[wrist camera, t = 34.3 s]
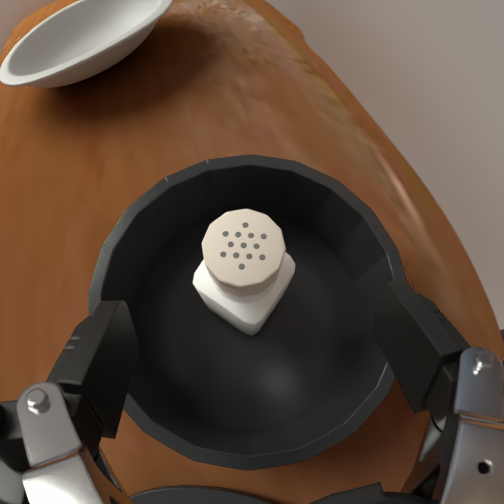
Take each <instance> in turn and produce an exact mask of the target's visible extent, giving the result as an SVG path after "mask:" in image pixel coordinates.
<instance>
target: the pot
mask: <svg viewBox="0 0 504 504" xmlns="http://www.w3.org/2000/svg"><path fill="white" fill-rule="evenodd" d="M241 209H250V210H253V211H256V212H260V213H263V214H266V215H268V216H269V217H270V219H271V220H272V221H273V222H274V223H275V224H276V225H277V226H278V227H279V228H280V229H281V230H282V234H283V238H284V242H285V246H286V251H285V252H286V253H287V254H288V255H290V256H291V258H292V259H293V261H294V263H295V272H294V274H293V277H292V279H291V281H290V283H289V285H288V287H287V289H286V291H285V292H284V294H283V296H282V298H281V299H280V301H279V302H278V304H277V305H276V307H275V308H274V310H273V311H272V313H271V314H270V316H269V317H268V319H267V320H266V322H265V323H264V325H263V326H262V328H261V329H260V330H259V332H257V333H256V334H254V335H253V336H252V335H247V334H245V333H243V332H242V331H240V330H239V329H237V328H236V327H234V326H233V325H231V324H230V323H228V322H227V321H225V320H224V319H223V318H221V317H220V316H218V315H217V314H215V313H214V312H212V311H211V310H210V309H209V308H208V306H207V305H206V303H205V302H204V300H203V299H202V297H201V296H200V294H199V293H198V291H197V290H196V288H195V286H194V285H193V278H194V273H195V271H196V270H197V268H198V267H199V265H200V264H201V262H202V261H203V260H204V256H203V249H202V241H203V239H204V237H205V234H206V232H207V230H208V227H209V225H210V224H211V223H212V222H214V221H215V220H216V219H218V218H219V217H220V216H222V215H223V214H224V213H226V212H229V211H235V210H241ZM402 280H404V281H406V277H405V274H404V270H403V266H402V263H401V259H400V256H399V252H398V250H397V248H396V246H395V244H394V243H393V241H392V239H391V238H390V236H389V235H388V233H387V231H386V230H385V228H384V227H383V225H382V224H381V222H380V221H379V219H378V217H377V216H376V214H375V213H374V211H372V209H371V208H370V207H368V206H367V205H366V204H365V203H364V202H363V201H362V200H360V199H359V198H358V197H357V196H356V195H355V194H354V193H352V192H351V191H350V190H349V189H348V188H346V187H345V186H344V185H343V184H342V183H341V182H339V181H337V180H336V179H334V178H332V177H330V176H328V175H326V174H324V173H321V172H319V171H317V170H315V169H313V168H310V167H308V166H306V165H304V164H302V163H299V162H296V161H292V160H286V159H280V158H273V157H267V156H260V155H251V154H250V155H241V156H232V157H224V158H216V159H209V160H207V161H206V160H205V161H202V162H200V163H198V164H195V165H193V166H190V167H188V168H185V169H183V170H181V171H178V172H176V173H174V174H171V175H169V176H167V177H165V178H163V179H162V180H161V181H160V182H158V183H157V184H156V185H155V186H153V187H152V188H151V189H150V190H148V191H147V192H146V193H145V194H143V195H142V196H141V197H140V198H139V199H137V200H136V201H135V202H134V203H133V204H131V205H130V207H128V208H127V210H126V211H125V212H124V214H123V215H122V217H121V218H120V220H119V221H118V223H117V224H116V226H115V227H114V229H113V230H112V232H111V233H110V235H109V236H108V238H107V239H106V241H105V242H104V244H103V246H102V249H101V252H100V255H99V258H98V261H97V265H96V268H95V272H94V275H93V279H92V282H91V286H90V289H89V317H92V315H93V313H94V311H95V310H96V308H97V306H98V305H99V303H100V302H101V301H120V300H123V301H125V302H126V304H127V307H128V310H129V313H130V317H131V320H132V323H133V326H134V330H135V333H136V336H137V339H138V345H139V355H138V359H137V363H136V366H135V369H134V372H133V376H132V379H131V382H130V386H129V389H128V393H127V396H126V400H125V403H124V407H123V409H124V410H125V411H126V412H127V414H128V415H129V416H130V417H131V418H132V419H133V421H134V422H135V423H136V424H137V425H138V426H139V427H140V428H141V430H142V431H143V432H145V433H146V434H148V435H149V436H151V437H152V438H154V439H156V440H157V441H159V442H161V443H162V444H164V445H166V446H167V447H169V448H171V449H173V450H174V451H176V452H178V453H180V454H182V455H183V456H185V457H187V458H189V459H191V460H193V461H197V462H202V463H207V464H212V465H217V466H222V467H228V468H234V469H240V470H257V469H264V468H270V467H277V466H282V465H288V464H293V463H298V462H303V461H305V460H307V459H309V458H311V457H313V456H315V455H317V454H319V453H321V452H323V451H324V450H326V449H328V448H330V447H332V446H333V445H335V444H337V443H339V442H340V441H342V440H344V439H345V438H347V437H349V436H350V435H352V433H354V432H355V431H356V430H357V429H358V428H359V427H360V426H361V425H362V424H363V422H364V421H365V420H366V419H367V418H368V417H369V416H370V415H371V413H372V412H373V411H374V410H375V409H376V408H377V407H378V405H379V404H380V403H381V402H382V401H383V399H384V398H385V397H386V396H387V393H389V391H390V389H391V386H392V384H393V382H394V379H395V375H394V373H393V371H392V369H391V367H390V366H389V364H388V362H387V360H386V358H385V356H384V354H383V353H382V351H381V349H380V347H379V345H378V344H377V342H376V340H375V337H374V333H373V321H374V316H375V311H376V306H377V301H378V296H379V290H380V287H381V285H382V283H385V282H393V281H402ZM406 282H407V281H406Z"/></svg>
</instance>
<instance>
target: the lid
mask: <svg viewBox="0 0 504 504" xmlns="http://www.w3.org/2000/svg"><path fill="white" fill-rule="evenodd" d="M129 498H130V499H131V501H132V502H133V503H134V504H276V503H274V502H272V501H269V500H267V499H264V498H261V497H258V496H255V495H252V494H248V493H244V492H240V491H236V490H231V489H225V488H220V487H210V486H195V485H180V486H166V487H160V488H153V489H149V490H146V491H142V492H139V493H136V494H134V495H131V496H129Z"/></svg>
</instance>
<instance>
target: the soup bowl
mask: <svg viewBox="0 0 504 504" xmlns="http://www.w3.org/2000/svg"><path fill="white" fill-rule="evenodd" d="M172 4H173V0H79V1H77V2H75V3H73V4H71V5H69V6H67V7H65V8H63V9H61V10H60V11H58V12H56V13H55V14H53V15H51V16H50V17H48V18H47V19H45V20H44V21H43V22H41V23H40V24H38V25H37V26H36V27H35V28H33V29H32V30H31V31H30V32H28V33H27V34H26V35H25V36H24V37H23V38H22V39H21V40H20V41H19V42H18V43H17V44H16V45H15V46H14V48H13V49H12V50H11V51H10V53H9V54H8V55H7V57H6V58H5V60H4V62H3V64H2V66H1V69H0V80H1V82H2V83H3V84H4V85H7V86H10V87H19V86H25V85H27V86H31V87H37V88H53V87H60V86H65V85H69V84H73V83H76V82H79V81H82V80H85V79H87V78H90V77H92V76H94V75H96V74H98V73H100V72H102V71H104V70H106V69H108V68H110V67H111V66H113V65H115V64H116V63H118V62H119V61H121V60H122V59H123V58H125V57H126V56H128V55H129V54H130V53H131V52H133V51H134V50H135V49H136V48H137V47H138V46H139V45H140V44H141V43H142V42H143V41H144V40H145V39H146V37H147V36H148V35H149V34H150V32H151V31H152V30H153V28H154V27H155V25H156V23H157V21H158V20H159V19H160V18H161V17H162V16H163V15H164V14H165V13H166V12H167V11H168V10H169V9H170V7H171V6H172Z"/></svg>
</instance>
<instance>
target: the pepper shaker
mask: <svg viewBox="0 0 504 504" xmlns="http://www.w3.org/2000/svg"><path fill="white" fill-rule="evenodd" d="M202 249H203V256H204V260H203V261H202V262H201V264H200V265H199V267H198V268H197V270H196V271H195V273H194V278H193V285H194V286H195V288H196V290H197V291H198V293H199V294H200V296H201V297H202V299H203V300H204V302H205V303H206V305H207V306H208V308H209V309H210V310H211V311H212V312H214V313H215V314H217V315H218V316H220V317H221V318H223V319H224V320H225V321H227V322H228V323H230V324H231V325H233V326H234V327H236V328H237V329H239V330H240V331H242V332H243V333H245V334H247V335H252V336H253V335H254V334H256V333H257V332H259V330H260V329H261V328H262V326H263V325H264V323H265V322H266V320H267V319H268V317H269V316H270V314H271V313H272V311H273V310H274V308H275V307H276V305H277V304H278V302H279V301H280V299H281V298H282V296H283V294H284V292H285V291H286V289H287V287H288V285H289V283H290V281H291V279H292V277H293V274H294V272H295V263H294V261H293V259H292V258H291V256H290V255H288V254H287V253H286V252H285V251H286V246H285V242H284V238H283V234H282V230H281V229H280V228H279V227H278V226H277V225H276V224H275V223H274V222H273V221H272V220H271V219H270V217H269V216H268V215H266V214H263V213H260V212H256V211H253V210H250V209H241V210H235V211H229V212H226V213H224V214H223V215H222V216H220V217H219V218H218V219H216V220H215V221H214V222H212V223H211V224H210V225H209V227H208V230H207V232H206V234H205V237H204V239H203V241H202Z"/></svg>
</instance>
